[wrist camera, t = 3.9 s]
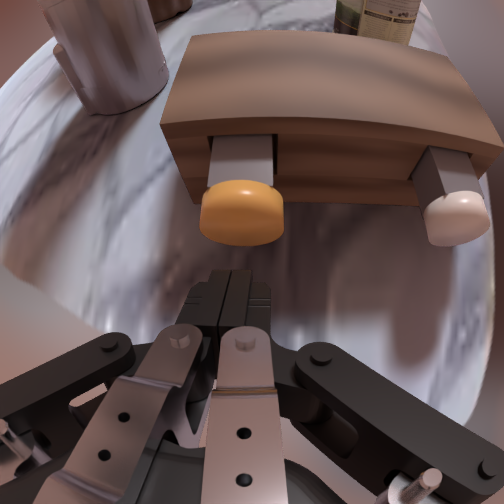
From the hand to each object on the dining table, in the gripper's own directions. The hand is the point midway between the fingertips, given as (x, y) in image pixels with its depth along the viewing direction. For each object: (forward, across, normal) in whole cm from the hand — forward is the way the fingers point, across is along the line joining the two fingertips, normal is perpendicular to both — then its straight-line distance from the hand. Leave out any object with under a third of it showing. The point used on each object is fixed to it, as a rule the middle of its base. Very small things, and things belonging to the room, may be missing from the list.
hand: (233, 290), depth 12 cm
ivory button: (+7, -12, -2) cm, 14 cm away
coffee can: (+29, -15, -19) cm, 38 cm away
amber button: (+7, 0, -2) cm, 7 cm away
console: (+14, -6, -4) cm, 16 cm away
